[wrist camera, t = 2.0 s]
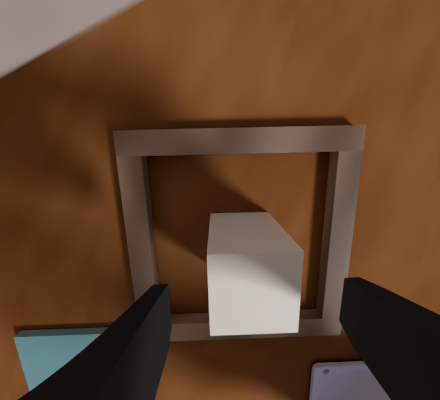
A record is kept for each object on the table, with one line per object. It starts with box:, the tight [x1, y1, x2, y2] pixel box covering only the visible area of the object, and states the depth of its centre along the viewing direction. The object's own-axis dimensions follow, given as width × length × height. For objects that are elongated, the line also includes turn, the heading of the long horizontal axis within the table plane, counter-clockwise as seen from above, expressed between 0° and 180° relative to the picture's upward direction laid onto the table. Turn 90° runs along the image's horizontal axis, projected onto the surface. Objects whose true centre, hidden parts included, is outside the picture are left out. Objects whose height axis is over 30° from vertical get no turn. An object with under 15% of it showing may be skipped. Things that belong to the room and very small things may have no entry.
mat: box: [14, 327, 108, 391], centre depth 16 cm, size 8×8×1 cm
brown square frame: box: [112, 125, 367, 342], centre depth 14 cm, size 15×15×1 cm
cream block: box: [207, 212, 304, 336], centre depth 12 cm, size 4×4×6 cm
